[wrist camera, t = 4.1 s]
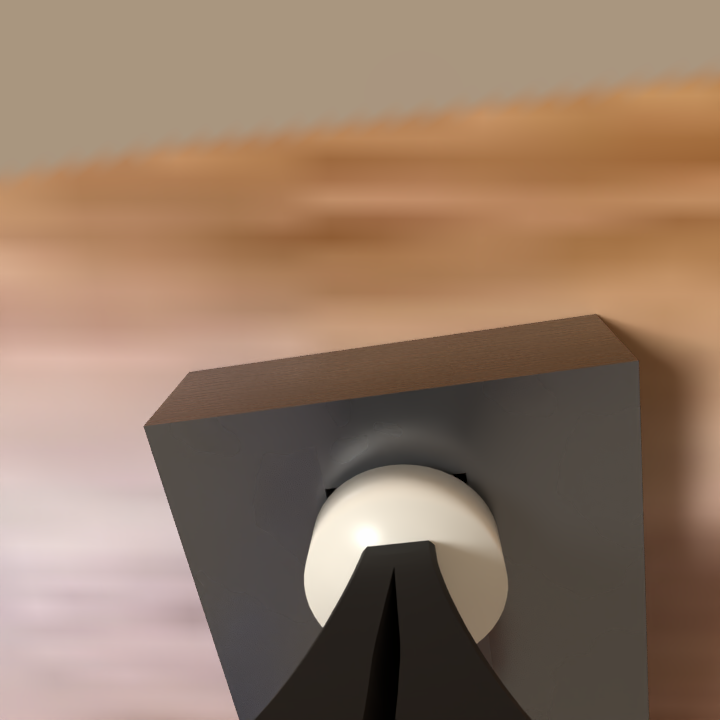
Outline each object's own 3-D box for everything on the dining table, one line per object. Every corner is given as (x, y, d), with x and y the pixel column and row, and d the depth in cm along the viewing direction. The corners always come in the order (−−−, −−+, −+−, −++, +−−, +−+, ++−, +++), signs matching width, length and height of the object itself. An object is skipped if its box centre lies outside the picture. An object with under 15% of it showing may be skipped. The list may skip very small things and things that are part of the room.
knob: (491, 528, 17) (516, 656, 13) (344, 544, 18) (324, 671, 14) (474, 392, 16) (497, 488, 12) (315, 413, 16) (284, 512, 12)
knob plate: (624, 872, 22) (656, 983, 19) (336, 882, 23) (326, 987, 20) (596, 314, 15) (638, 361, 12) (189, 372, 16) (143, 426, 14)
